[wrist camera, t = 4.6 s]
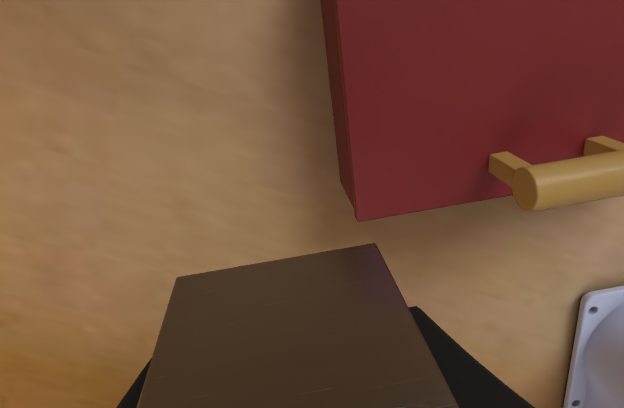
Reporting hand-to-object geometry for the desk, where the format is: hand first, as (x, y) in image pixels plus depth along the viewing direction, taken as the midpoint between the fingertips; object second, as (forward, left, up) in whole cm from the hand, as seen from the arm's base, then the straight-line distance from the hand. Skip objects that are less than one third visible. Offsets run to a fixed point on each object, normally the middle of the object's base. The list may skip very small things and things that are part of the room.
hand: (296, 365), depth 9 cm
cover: (+4, -10, -7) cm, 13 cm away
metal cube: (0, 0, -1) cm, 1 cm away
